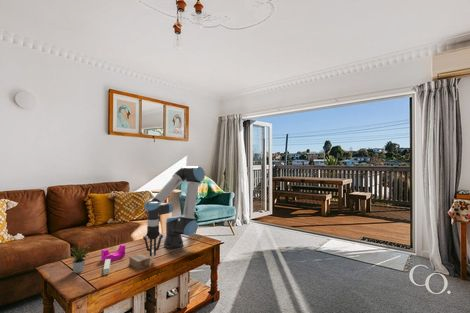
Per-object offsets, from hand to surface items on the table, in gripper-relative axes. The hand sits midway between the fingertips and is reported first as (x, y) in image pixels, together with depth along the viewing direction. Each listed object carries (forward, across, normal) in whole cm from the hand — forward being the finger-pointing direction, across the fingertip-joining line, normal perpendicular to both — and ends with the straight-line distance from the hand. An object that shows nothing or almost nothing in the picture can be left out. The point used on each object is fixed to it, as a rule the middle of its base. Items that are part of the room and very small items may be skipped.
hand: (152, 260), depth 169 cm
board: (+2, +27, 0) cm, 27 cm away
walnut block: (+2, +8, 0) cm, 8 cm away
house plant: (+2, +44, -2) cm, 45 cm away
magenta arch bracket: (+2, +24, -18) cm, 30 cm away
